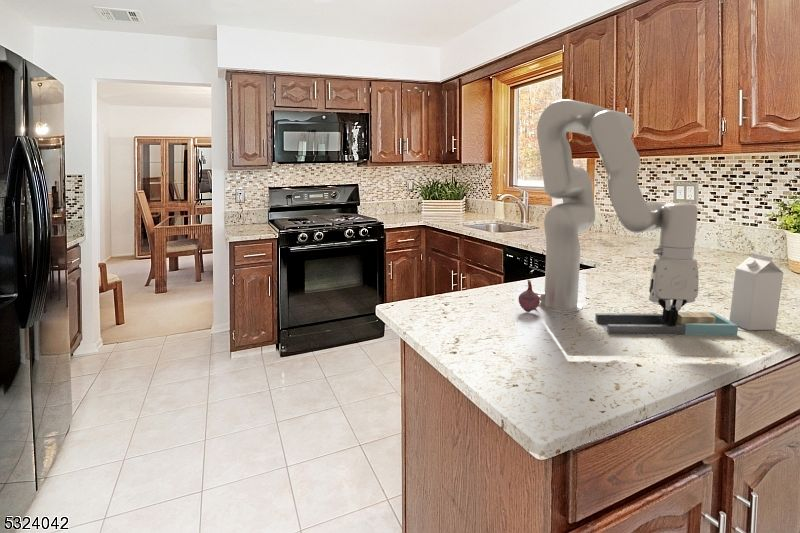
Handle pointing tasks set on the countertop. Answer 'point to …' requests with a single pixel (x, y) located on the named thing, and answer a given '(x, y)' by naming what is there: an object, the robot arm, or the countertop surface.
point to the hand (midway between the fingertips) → (669, 323)
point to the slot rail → (637, 324)
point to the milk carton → (756, 293)
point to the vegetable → (529, 299)
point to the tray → (712, 327)
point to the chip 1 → (686, 318)
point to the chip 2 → (705, 318)
